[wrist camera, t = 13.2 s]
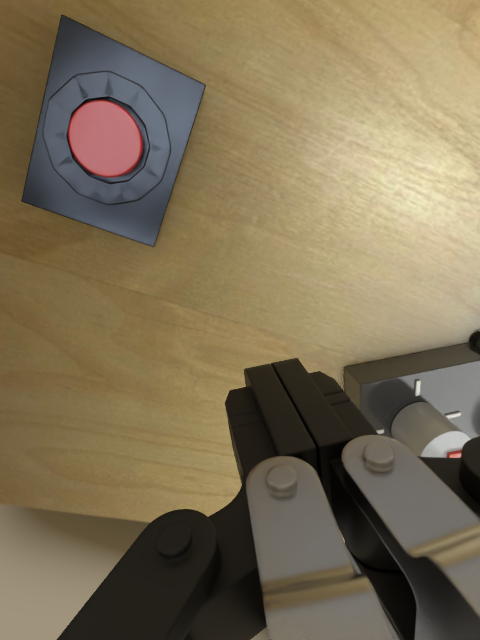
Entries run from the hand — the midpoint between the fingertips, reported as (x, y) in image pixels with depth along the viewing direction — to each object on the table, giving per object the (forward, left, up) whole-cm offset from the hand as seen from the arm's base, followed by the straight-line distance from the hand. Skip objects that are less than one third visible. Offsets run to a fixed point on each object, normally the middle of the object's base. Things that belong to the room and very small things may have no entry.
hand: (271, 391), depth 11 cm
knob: (+15, -16, -15) cm, 27 cm away
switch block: (-5, +8, -18) cm, 20 cm away
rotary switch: (+16, -16, -18) cm, 29 cm away
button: (-5, +8, -15) cm, 18 cm away
